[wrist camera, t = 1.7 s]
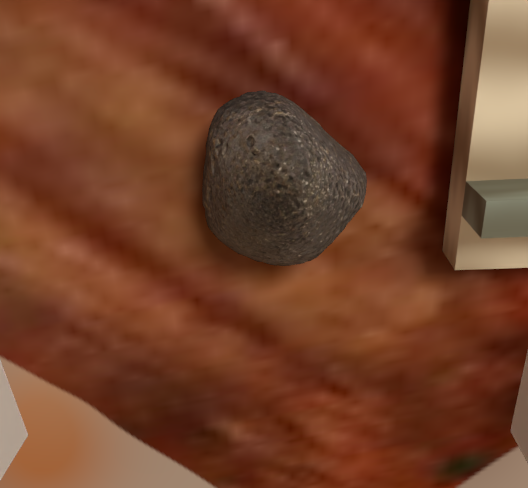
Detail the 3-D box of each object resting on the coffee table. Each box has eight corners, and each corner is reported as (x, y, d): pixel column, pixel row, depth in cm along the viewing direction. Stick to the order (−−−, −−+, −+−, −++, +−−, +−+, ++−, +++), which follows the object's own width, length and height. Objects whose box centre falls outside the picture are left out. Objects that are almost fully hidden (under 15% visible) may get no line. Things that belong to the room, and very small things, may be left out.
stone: (320, 222, 34) (429, 187, 26) (240, 300, 30) (337, 290, 22) (238, 106, 33) (326, 26, 24) (140, 173, 29) (204, 106, 20)
